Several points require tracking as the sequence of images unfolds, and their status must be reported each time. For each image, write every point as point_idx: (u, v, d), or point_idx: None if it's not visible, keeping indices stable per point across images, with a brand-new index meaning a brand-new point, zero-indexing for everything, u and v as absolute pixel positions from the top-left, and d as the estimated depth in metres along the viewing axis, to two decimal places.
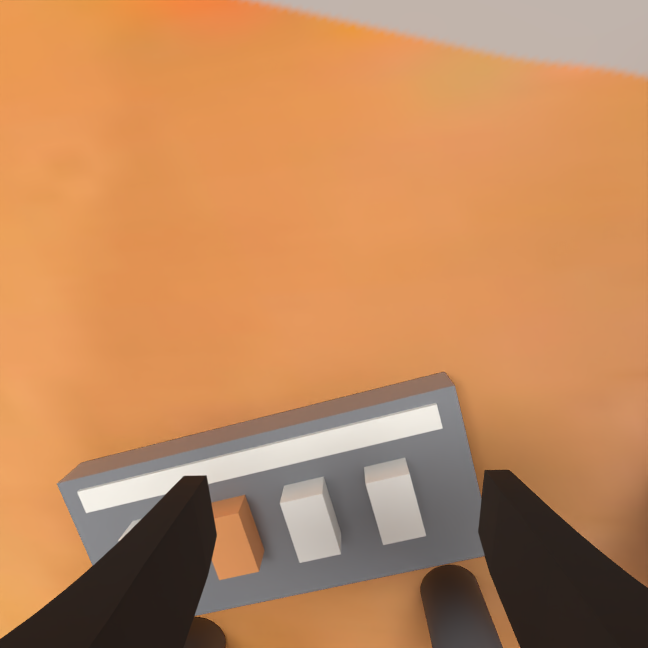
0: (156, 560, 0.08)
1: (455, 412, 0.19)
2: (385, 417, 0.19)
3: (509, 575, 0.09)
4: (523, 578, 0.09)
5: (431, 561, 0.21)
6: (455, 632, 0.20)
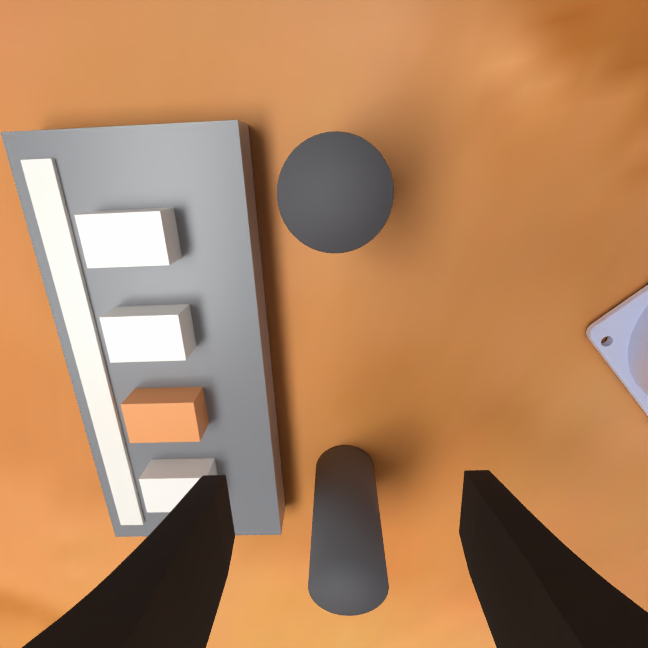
0: (181, 560, 0.08)
1: (35, 137, 0.16)
2: (40, 223, 0.17)
3: (486, 575, 0.09)
4: (498, 578, 0.09)
5: (238, 206, 0.17)
6: None
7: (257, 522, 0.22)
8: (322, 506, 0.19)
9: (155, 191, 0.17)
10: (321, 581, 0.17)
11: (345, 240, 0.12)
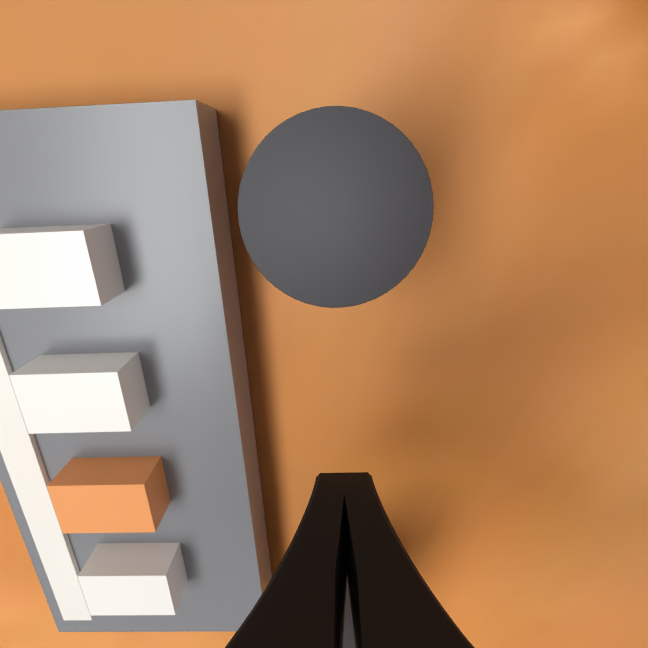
0: (336, 558, 0.08)
1: None
2: None
3: (350, 576, 0.09)
4: (352, 579, 0.09)
5: (200, 222, 0.12)
6: None
7: (236, 617, 0.18)
8: None
9: (84, 201, 0.12)
10: None
11: (351, 287, 0.07)
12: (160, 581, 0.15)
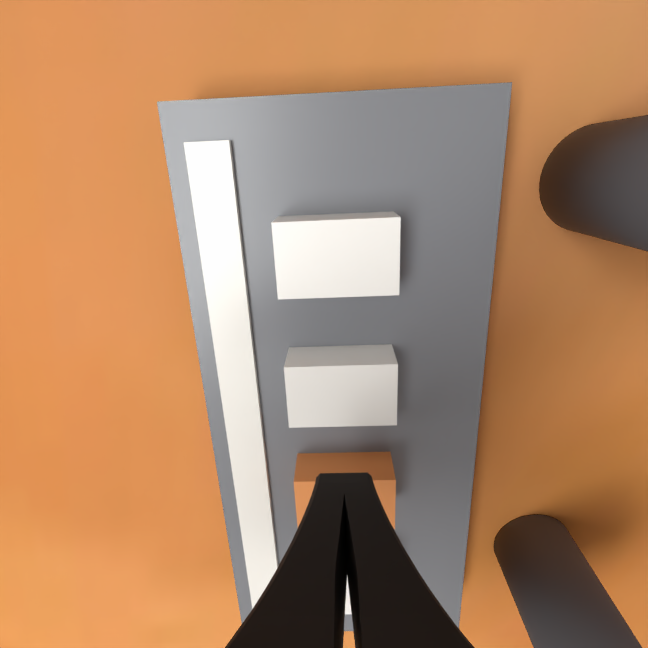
0: (336, 558, 0.08)
1: (207, 109, 0.11)
2: (200, 234, 0.12)
3: (350, 576, 0.09)
4: (352, 579, 0.09)
5: (488, 210, 0.12)
6: (617, 204, 0.10)
7: None
8: (553, 614, 0.14)
9: (370, 188, 0.12)
10: None
11: None
12: None
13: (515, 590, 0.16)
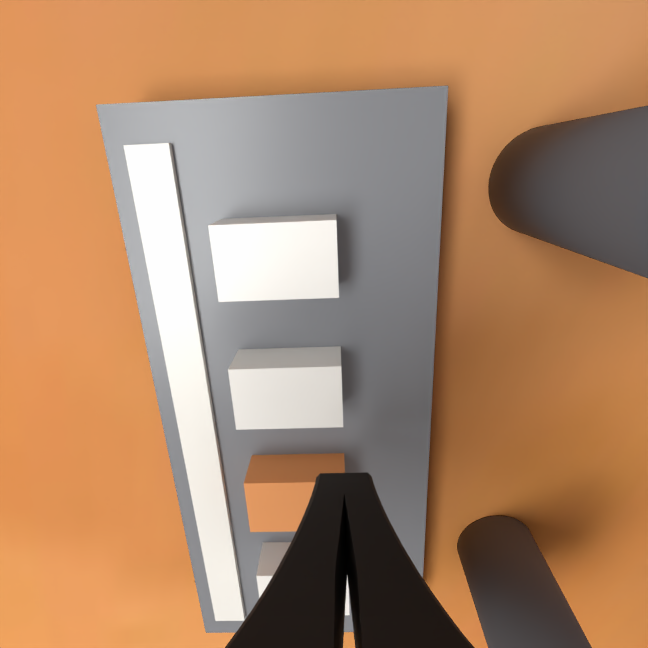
0: (336, 558, 0.08)
1: (146, 112, 0.11)
2: (144, 236, 0.12)
3: (350, 576, 0.09)
4: (352, 579, 0.09)
5: (430, 212, 0.12)
6: (547, 206, 0.10)
7: None
8: (506, 615, 0.14)
9: (312, 191, 0.12)
10: None
11: None
12: None
13: (474, 591, 0.16)
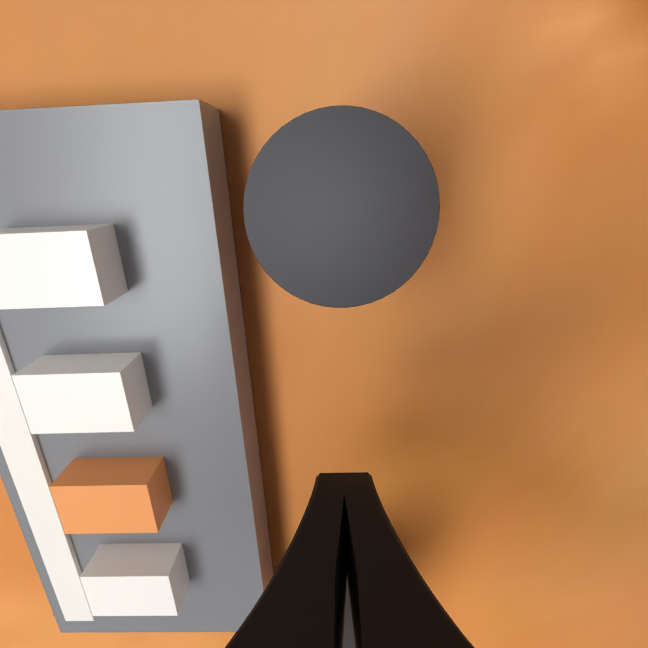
0: (336, 558, 0.08)
1: None
2: None
3: (350, 576, 0.09)
4: (352, 579, 0.09)
5: (203, 222, 0.12)
6: None
7: (238, 617, 0.18)
8: None
9: (86, 201, 0.12)
10: None
11: (357, 287, 0.07)
12: (163, 581, 0.15)
13: None
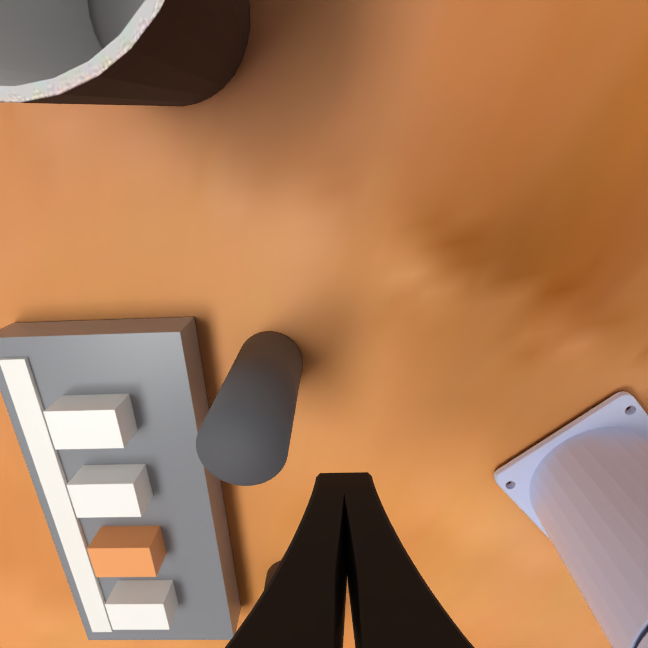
0: (336, 558, 0.08)
1: (11, 342, 0.19)
2: (16, 405, 0.20)
3: (350, 576, 0.09)
4: (352, 579, 0.09)
5: (184, 393, 0.20)
6: None
7: (212, 629, 0.25)
8: None
9: (113, 381, 0.20)
10: None
11: (252, 477, 0.15)
12: (159, 607, 0.23)
13: None
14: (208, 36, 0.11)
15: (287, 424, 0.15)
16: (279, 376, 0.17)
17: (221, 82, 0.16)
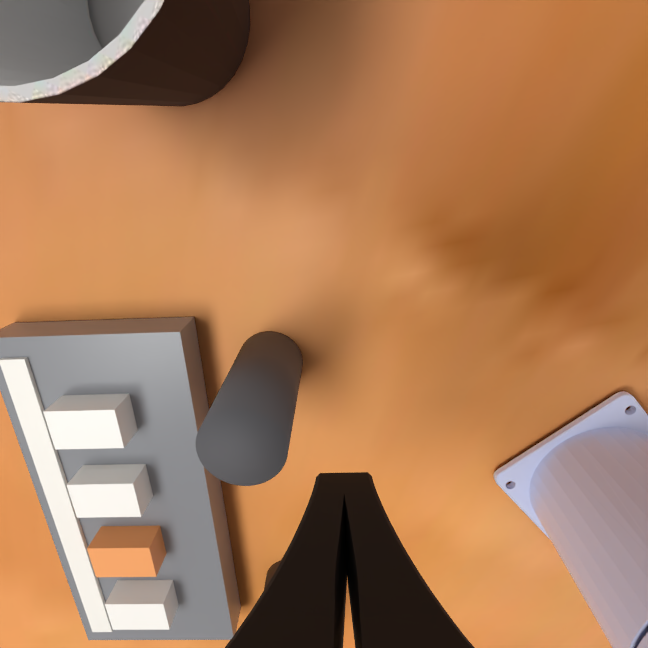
0: (336, 558, 0.08)
1: (11, 342, 0.19)
2: (16, 405, 0.20)
3: (350, 576, 0.09)
4: (352, 579, 0.09)
5: (184, 393, 0.20)
6: None
7: (212, 629, 0.25)
8: None
9: (113, 381, 0.20)
10: None
11: (252, 477, 0.15)
12: (159, 607, 0.23)
13: None
14: (208, 36, 0.11)
15: (287, 424, 0.15)
16: (279, 376, 0.17)
17: (221, 82, 0.16)
